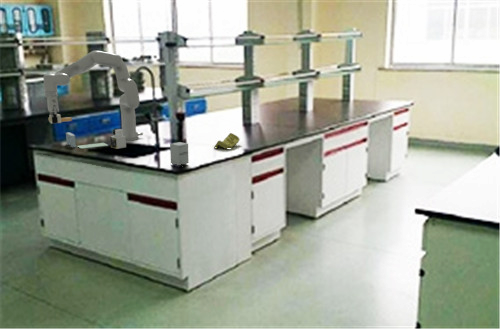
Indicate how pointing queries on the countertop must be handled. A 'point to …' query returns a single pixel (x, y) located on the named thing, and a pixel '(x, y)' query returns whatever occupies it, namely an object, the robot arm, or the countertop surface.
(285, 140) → the countertop surface
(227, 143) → the plastic component
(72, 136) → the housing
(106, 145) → the mat
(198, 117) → the countertop surface
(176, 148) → the supplement box
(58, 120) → the plug
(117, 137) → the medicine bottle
